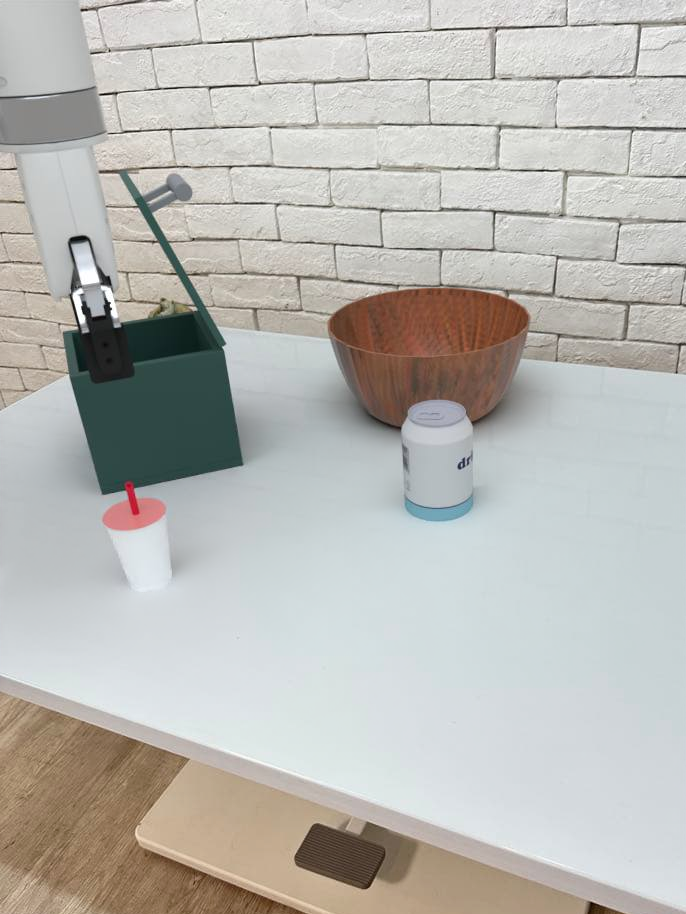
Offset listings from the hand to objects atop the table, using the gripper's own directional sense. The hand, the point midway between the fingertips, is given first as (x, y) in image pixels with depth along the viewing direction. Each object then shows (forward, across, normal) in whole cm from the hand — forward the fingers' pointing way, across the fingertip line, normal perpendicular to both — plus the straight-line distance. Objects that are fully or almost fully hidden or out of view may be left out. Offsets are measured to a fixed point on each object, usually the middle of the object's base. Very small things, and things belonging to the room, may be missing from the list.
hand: (107, 357), depth 68 cm
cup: (+23, +2, -1) cm, 23 cm away
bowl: (+23, -25, +38) cm, 51 cm away
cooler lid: (0, -27, +9) cm, 29 cm away
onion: (+23, -63, +12) cm, 68 cm away
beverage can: (+23, +1, +28) cm, 36 cm away
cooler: (+22, -27, +4) cm, 36 cm away
